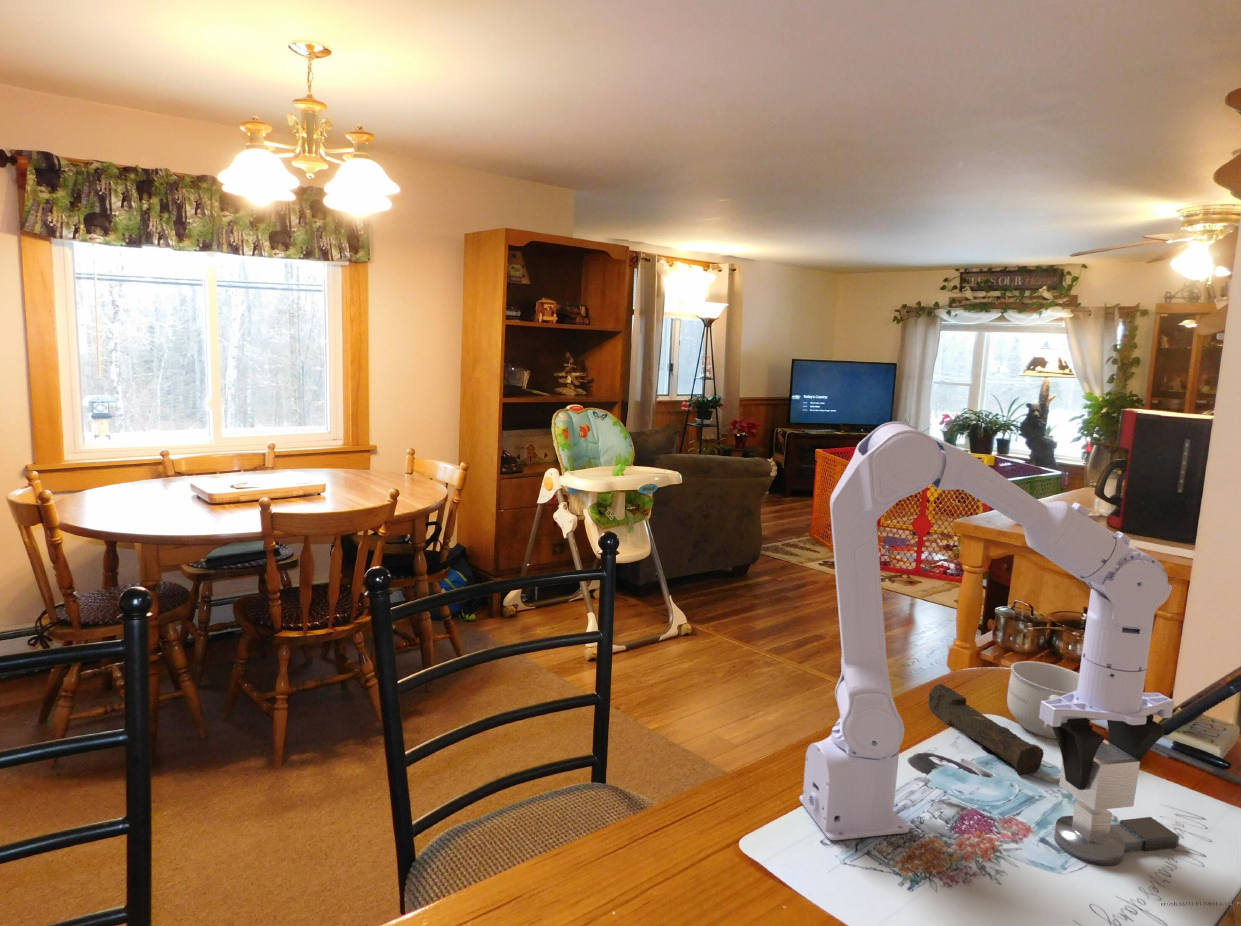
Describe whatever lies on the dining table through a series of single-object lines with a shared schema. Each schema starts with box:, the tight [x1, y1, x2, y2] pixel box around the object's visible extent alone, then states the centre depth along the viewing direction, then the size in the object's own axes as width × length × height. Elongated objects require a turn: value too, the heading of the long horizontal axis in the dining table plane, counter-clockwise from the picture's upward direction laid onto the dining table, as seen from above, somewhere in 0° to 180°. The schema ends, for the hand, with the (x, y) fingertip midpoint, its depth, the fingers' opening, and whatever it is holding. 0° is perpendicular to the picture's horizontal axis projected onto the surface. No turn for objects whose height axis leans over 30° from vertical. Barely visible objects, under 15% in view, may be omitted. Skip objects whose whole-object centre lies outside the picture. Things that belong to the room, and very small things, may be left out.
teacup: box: [1006, 660, 1080, 740], centre depth 109 cm, size 14×11×8 cm
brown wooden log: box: [928, 683, 1045, 776], centre depth 107 cm, size 19×4×5 cm, turn 16°
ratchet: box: [1053, 801, 1180, 868], centre depth 85 cm, size 13×6×5 cm, turn 102°
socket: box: [1058, 738, 1141, 810], centre depth 83 cm, size 5×5×5 cm
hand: (1096, 782), depth 84 cm, fingers closed on socket, 5 cm apart
